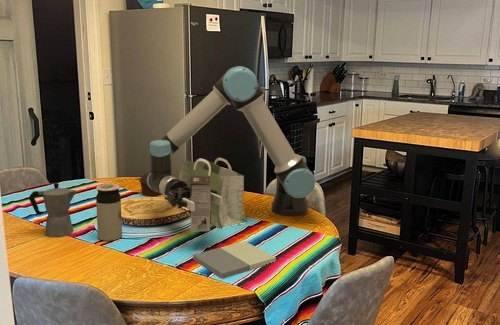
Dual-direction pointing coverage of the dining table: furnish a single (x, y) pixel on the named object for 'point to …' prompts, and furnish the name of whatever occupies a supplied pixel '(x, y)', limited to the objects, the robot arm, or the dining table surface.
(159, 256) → the dining table surface
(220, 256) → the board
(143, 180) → the muffin
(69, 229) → the coffeepot
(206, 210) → the coffee box
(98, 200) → the travel mug
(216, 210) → the grocery bag
